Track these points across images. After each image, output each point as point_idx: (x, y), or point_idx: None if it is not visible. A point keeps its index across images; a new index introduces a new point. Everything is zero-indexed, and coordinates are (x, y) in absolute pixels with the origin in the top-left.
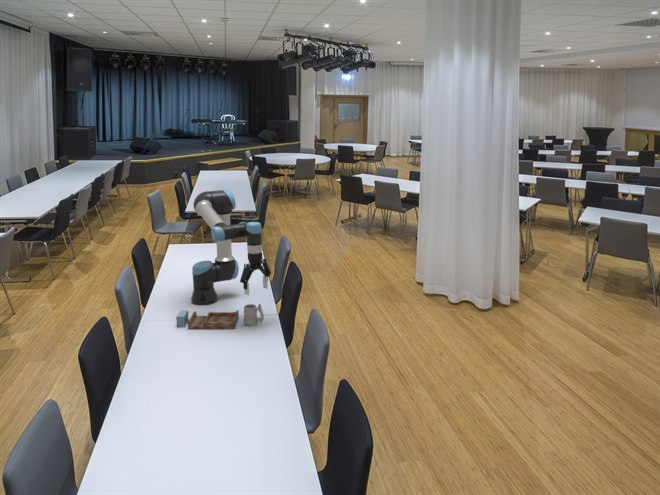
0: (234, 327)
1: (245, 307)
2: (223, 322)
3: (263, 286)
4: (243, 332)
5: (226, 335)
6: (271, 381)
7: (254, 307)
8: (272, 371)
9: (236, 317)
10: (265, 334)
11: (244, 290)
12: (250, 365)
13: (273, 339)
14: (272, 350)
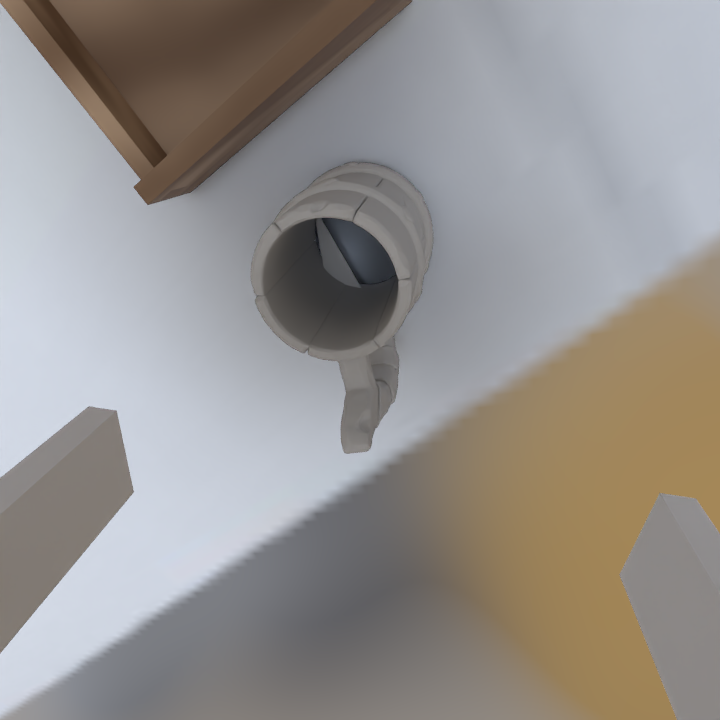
0: (185, 192)
1: (258, 267)
2: (82, 91)
3: (670, 527)
4: (201, 301)
5: (75, 226)
6: (11, 643)
7: (331, 359)
8: (51, 623)
9: (271, 103)
10: (279, 443)
11: (22, 462)
12: None
13: (257, 511)
14: (163, 559)
